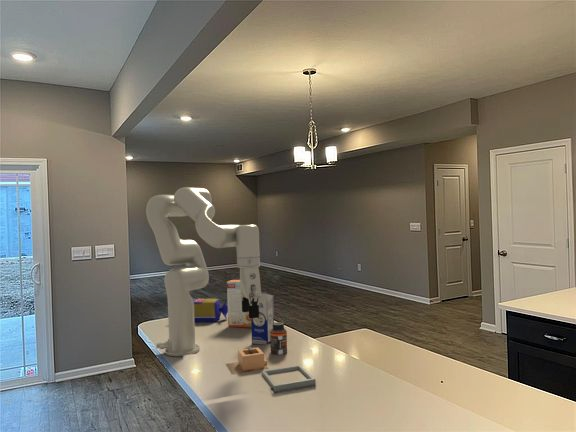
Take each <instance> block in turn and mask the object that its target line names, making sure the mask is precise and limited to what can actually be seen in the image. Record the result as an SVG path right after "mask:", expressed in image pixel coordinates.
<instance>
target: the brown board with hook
mask: <svg viewBox="0 0 576 432" xmlns="http://www.w3.org/2000/svg"><path fill="white" fill-rule="evenodd" d="M252 348H253V347H252V346H250V347H247V349H248V350H249V351H248V354H253V352H254V350H253V349H252ZM225 365H226V367H227V369H228V370H229V372H230V374H231V375H235V374H236V375H237V374H243V373H250V372H256V371H264V370H270V369H269V367H268V366H267V364H265V365H264V368H258V369H251V370H245V371H243V370H242V368H241V367H240V365H239V364H238V361H237V362H235V361H234V362H230V363H229V362H228V363H225Z"/></svg>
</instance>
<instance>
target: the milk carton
mask: <svg viewBox="0 0 576 432" xmlns="http://www.w3.org/2000/svg"><path fill="white" fill-rule="evenodd" d="M258 299H259V300H258V302H259V317H258V318H251V345H259V346H263V345H270V331H271V330H272V329H273V323H275V313H274V312H275V311H274V310H275V307H274V306H275V305H274V295H273V294H268V292H267V291H261V297H260V298H258ZM251 301H252V299H251Z"/></svg>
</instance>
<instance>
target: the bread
mask: <svg viewBox="0 0 576 432" xmlns="http://www.w3.org/2000/svg"><path fill="white" fill-rule="evenodd" d="M192 299H193V302H194V320H195V323H212V322H214V323H216V322H217V321H218V320H219V319H220V318H221V315H223V317H224V318H225V320H226V321H228V304H227V299H226V300H224V302H223V305H222V306H221V302H220V299H219V298H192Z"/></svg>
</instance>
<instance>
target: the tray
mask: <svg viewBox="0 0 576 432" xmlns="http://www.w3.org/2000/svg"><path fill="white" fill-rule="evenodd" d="M298 370H299V371H300V372H301V374H303V375H304V376H305V377H306V378H307V379H301V380H296V381H290V382H284V383H278V384H276V382H275V381H274V380H273V379H272V378H271V377H270V375H272V374H279V373H285V372H290V371H298ZM261 375H262V376H263V377H264V379H265V380H266V381H267V383H269V385H270V386H271V388H270V390H271V391H272V392H273V393H274V394H277V393H284V392H289V391H295V390H301V389H307V388H311V387H317V386H316V384H317V382H316V378H315V377H314V376H313V375H311V373H309V372H308V371H307V370H306V369H305V368H304V367H303V366H302V365H300V364H298V365H292V366H285V367H279V368H277V367H276V368H272V369H264V370H261Z"/></svg>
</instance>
